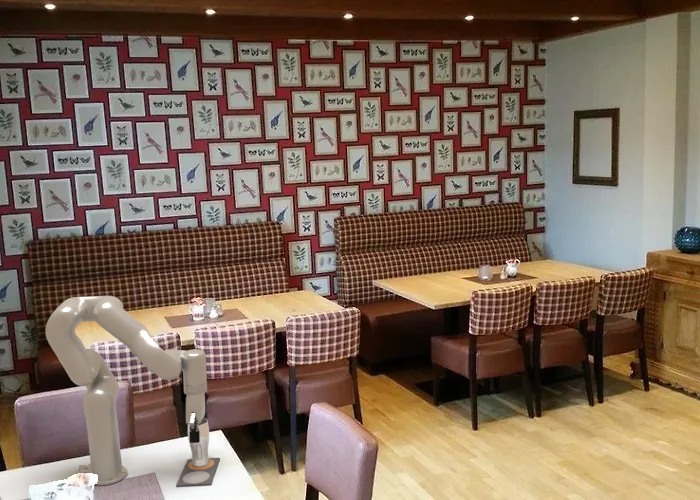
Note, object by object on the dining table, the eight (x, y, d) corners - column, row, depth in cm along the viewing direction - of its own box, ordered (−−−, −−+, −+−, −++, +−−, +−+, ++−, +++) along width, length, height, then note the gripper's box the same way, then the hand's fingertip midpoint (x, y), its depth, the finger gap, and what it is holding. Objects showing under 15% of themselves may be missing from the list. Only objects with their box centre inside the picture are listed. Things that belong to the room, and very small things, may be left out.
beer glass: (206, 469, 235) (203, 426, 233) (186, 468, 237) (183, 425, 234) (214, 460, 242) (211, 418, 240) (195, 459, 243) (192, 417, 241)
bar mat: (176, 487, 225) (176, 484, 225) (187, 460, 244) (187, 458, 244) (211, 485, 225) (210, 483, 225) (220, 459, 244) (219, 457, 244)
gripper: (189, 379, 244) (191, 426, 246) (178, 396, 227) (180, 447, 229) (211, 378, 244) (212, 426, 246) (202, 396, 227) (204, 447, 229)
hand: (197, 436), depth 238 cm, fingers open, 9 cm apart
